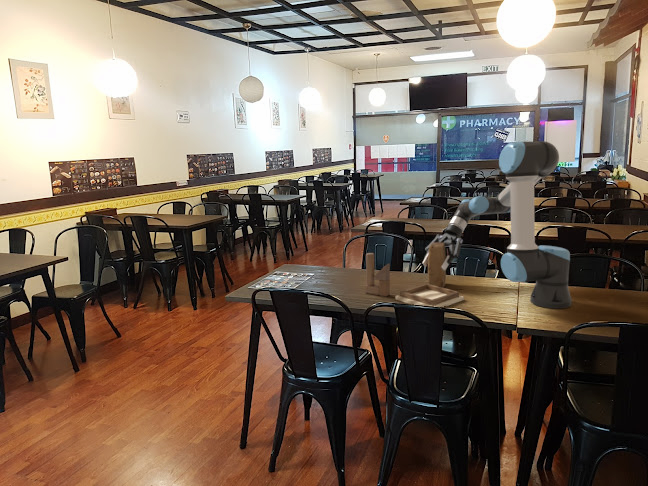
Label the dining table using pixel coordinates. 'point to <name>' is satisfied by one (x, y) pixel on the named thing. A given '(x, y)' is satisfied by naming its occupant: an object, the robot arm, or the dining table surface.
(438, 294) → the pocket board
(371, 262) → the wooden block
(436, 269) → the block
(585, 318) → the dining table surface
